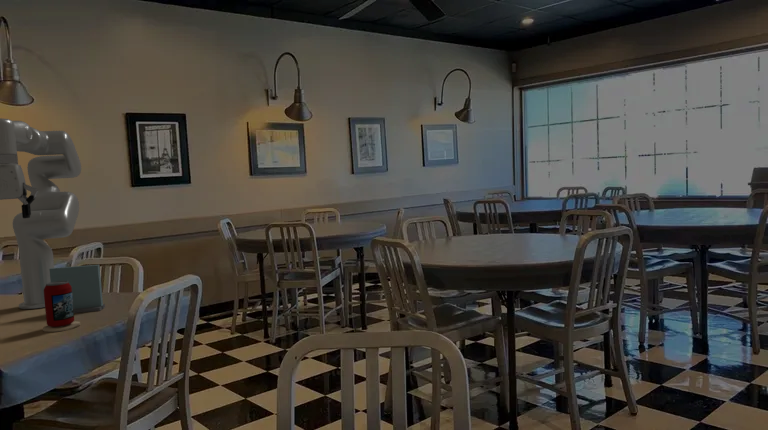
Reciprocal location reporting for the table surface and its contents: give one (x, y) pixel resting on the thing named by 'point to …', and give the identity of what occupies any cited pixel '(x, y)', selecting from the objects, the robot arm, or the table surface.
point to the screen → (82, 286)
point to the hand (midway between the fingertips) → (8, 219)
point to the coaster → (57, 329)
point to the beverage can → (58, 304)
